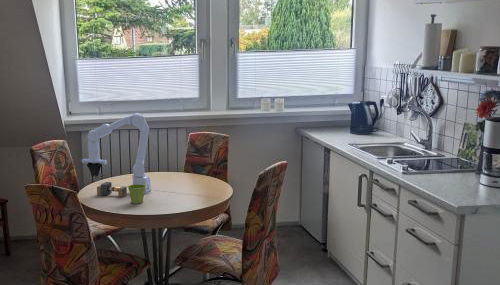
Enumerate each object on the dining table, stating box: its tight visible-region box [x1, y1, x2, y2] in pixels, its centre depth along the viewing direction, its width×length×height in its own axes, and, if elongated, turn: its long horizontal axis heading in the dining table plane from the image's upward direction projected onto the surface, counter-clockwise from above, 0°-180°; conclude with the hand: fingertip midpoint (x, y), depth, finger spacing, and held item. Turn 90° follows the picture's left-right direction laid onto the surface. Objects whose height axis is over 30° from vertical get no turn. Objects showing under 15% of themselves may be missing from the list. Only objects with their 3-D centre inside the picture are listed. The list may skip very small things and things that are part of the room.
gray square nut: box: [100, 181, 113, 196], centre depth 290 cm, size 3×6×6 cm, turn 164°
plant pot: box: [127, 184, 146, 205], centre depth 275 cm, size 9×9×9 cm
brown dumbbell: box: [96, 184, 128, 198], centre depth 289 cm, size 15×5×5 cm, turn 74°
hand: (95, 176), depth 291 cm, fingers closed
